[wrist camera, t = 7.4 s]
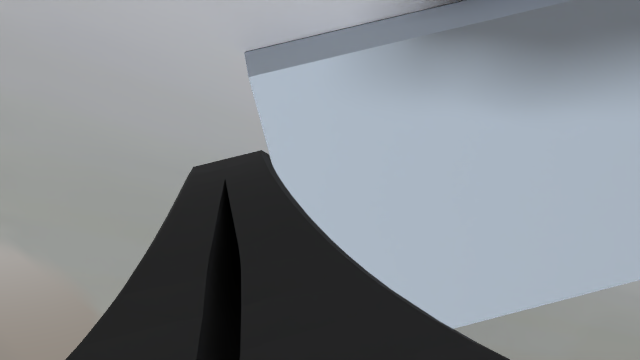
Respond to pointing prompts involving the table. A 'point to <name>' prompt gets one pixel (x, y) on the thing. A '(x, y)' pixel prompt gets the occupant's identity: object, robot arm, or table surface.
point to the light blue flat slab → (468, 149)
